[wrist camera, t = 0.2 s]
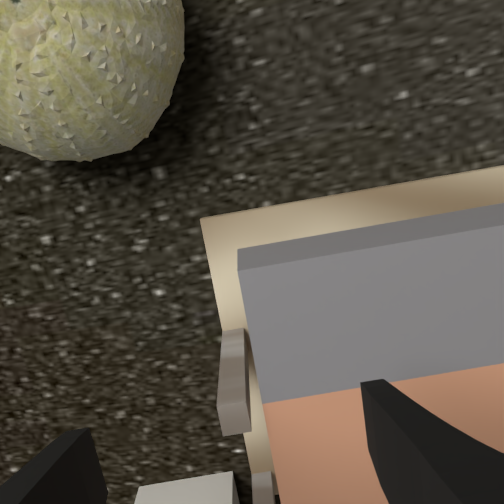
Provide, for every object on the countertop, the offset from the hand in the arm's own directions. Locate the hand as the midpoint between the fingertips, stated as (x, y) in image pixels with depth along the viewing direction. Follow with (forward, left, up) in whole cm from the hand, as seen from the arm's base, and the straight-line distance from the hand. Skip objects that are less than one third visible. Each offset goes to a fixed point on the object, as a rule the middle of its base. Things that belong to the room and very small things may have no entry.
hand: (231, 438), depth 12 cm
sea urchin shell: (+12, +4, -10) cm, 16 cm away
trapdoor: (-3, -7, -7) cm, 10 cm away
